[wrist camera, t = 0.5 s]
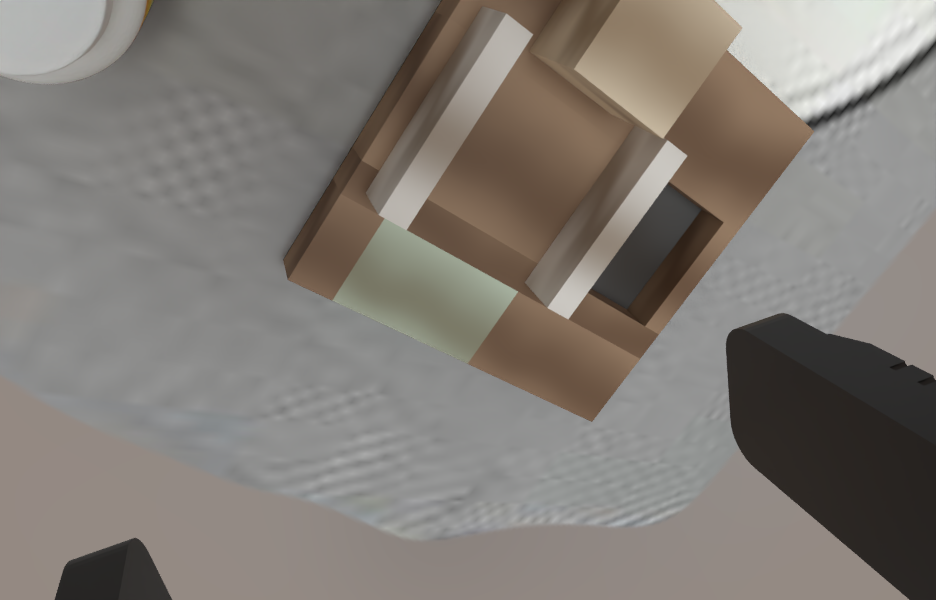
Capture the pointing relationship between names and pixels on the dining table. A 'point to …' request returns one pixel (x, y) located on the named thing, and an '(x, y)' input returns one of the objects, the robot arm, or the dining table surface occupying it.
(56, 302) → the dining table surface
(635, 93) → the birch block
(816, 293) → the dining table surface
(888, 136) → the dining table surface
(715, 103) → the channel deck
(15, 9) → the supplement bottle
